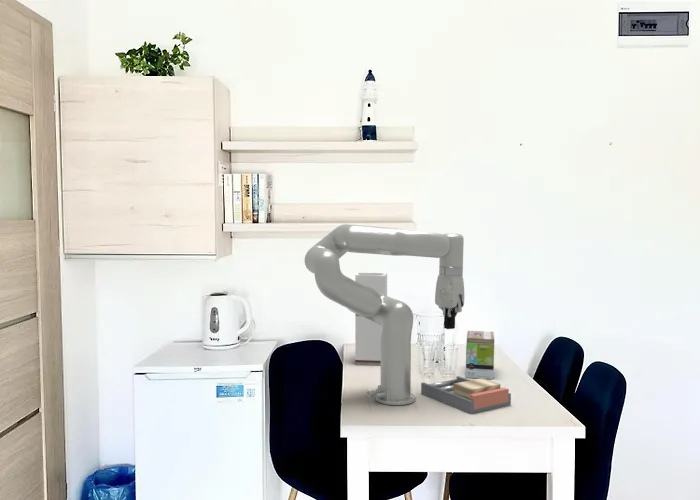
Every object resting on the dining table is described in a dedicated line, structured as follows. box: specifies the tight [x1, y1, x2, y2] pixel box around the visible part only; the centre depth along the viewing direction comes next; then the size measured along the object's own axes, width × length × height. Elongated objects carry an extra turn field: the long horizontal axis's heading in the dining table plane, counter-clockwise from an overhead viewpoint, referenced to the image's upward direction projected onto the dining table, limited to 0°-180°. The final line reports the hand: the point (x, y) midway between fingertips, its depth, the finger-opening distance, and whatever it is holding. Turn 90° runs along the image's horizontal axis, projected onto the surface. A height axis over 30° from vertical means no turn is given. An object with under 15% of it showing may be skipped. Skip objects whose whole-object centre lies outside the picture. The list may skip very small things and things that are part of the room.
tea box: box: [465, 330, 495, 380], centre depth 228 cm, size 15×10×15 cm
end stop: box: [470, 387, 510, 409], centre depth 188 cm, size 14×2×4 cm, turn 121°
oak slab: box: [453, 378, 501, 399], centre depth 192 cm, size 12×8×3 cm, turn 121°
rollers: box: [428, 379, 470, 400], centre depth 198 cm, size 12×22×2 cm, turn 31°
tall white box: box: [354, 272, 388, 367], centre depth 245 cm, size 11×11×35 cm
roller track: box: [420, 375, 512, 415], centre depth 197 cm, size 16×24×4 cm, turn 31°
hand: (449, 328), depth 201 cm, fingers closed
